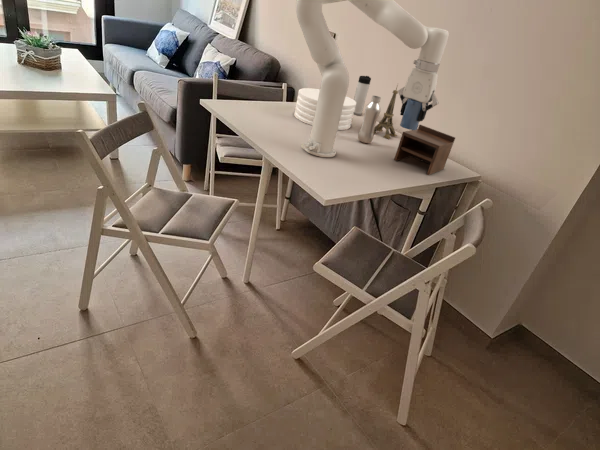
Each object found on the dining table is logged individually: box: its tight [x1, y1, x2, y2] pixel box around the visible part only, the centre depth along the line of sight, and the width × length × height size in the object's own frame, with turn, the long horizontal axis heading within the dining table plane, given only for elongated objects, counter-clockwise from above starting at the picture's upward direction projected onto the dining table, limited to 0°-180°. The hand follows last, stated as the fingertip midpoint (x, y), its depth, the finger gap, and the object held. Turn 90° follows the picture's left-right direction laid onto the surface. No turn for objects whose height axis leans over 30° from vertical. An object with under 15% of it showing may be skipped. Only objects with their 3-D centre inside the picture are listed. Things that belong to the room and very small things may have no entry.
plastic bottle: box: [357, 95, 382, 144], centre depth 180 cm, size 6×7×20 cm
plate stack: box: [293, 87, 356, 131], centre depth 201 cm, size 28×28×12 cm
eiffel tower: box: [374, 84, 399, 140], centre depth 198 cm, size 11×11×25 cm
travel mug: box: [353, 75, 372, 116], centre depth 225 cm, size 6×7×20 cm
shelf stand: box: [393, 124, 456, 176], centre depth 169 cm, size 14×16×14 cm
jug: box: [399, 98, 422, 131], centre depth 153 cm, size 10×6×10 cm, turn 138°
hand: (411, 117), depth 153 cm, fingers closed on jug, 6 cm apart
